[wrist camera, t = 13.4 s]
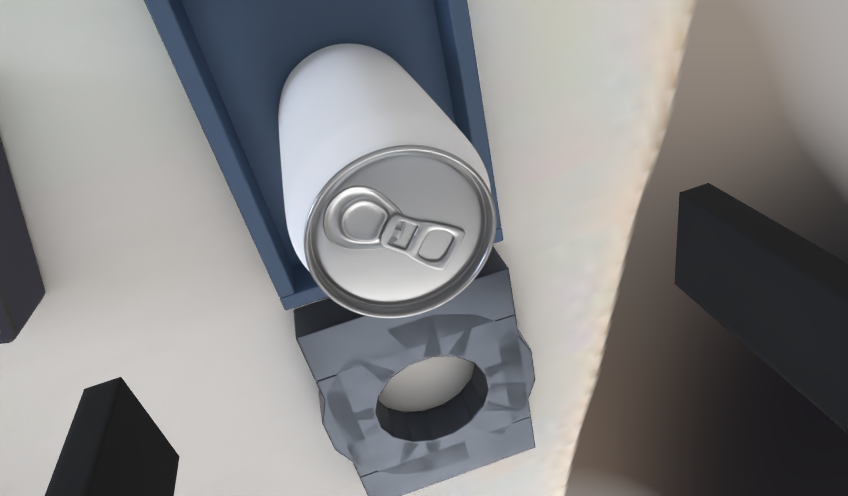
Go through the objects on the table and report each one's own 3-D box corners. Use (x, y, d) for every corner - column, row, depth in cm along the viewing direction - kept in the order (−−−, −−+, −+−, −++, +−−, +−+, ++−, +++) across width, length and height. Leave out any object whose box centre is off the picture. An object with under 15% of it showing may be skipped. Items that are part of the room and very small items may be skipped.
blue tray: (484, 214, 31) (503, 240, 28) (283, 278, 30) (285, 311, 27) (429, -111, 22) (450, -114, 20) (144, -38, 21) (128, -32, 19)
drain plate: (529, 417, 41) (544, 444, 39) (358, 478, 40) (363, 509, 38) (503, 242, 32) (520, 264, 30) (282, 313, 31) (283, 341, 29)
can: (308, 14, 23) (343, 89, 13) (439, 77, 26) (551, 179, 16) (257, 150, 25) (253, 302, 16) (382, 195, 28) (448, 348, 18)
